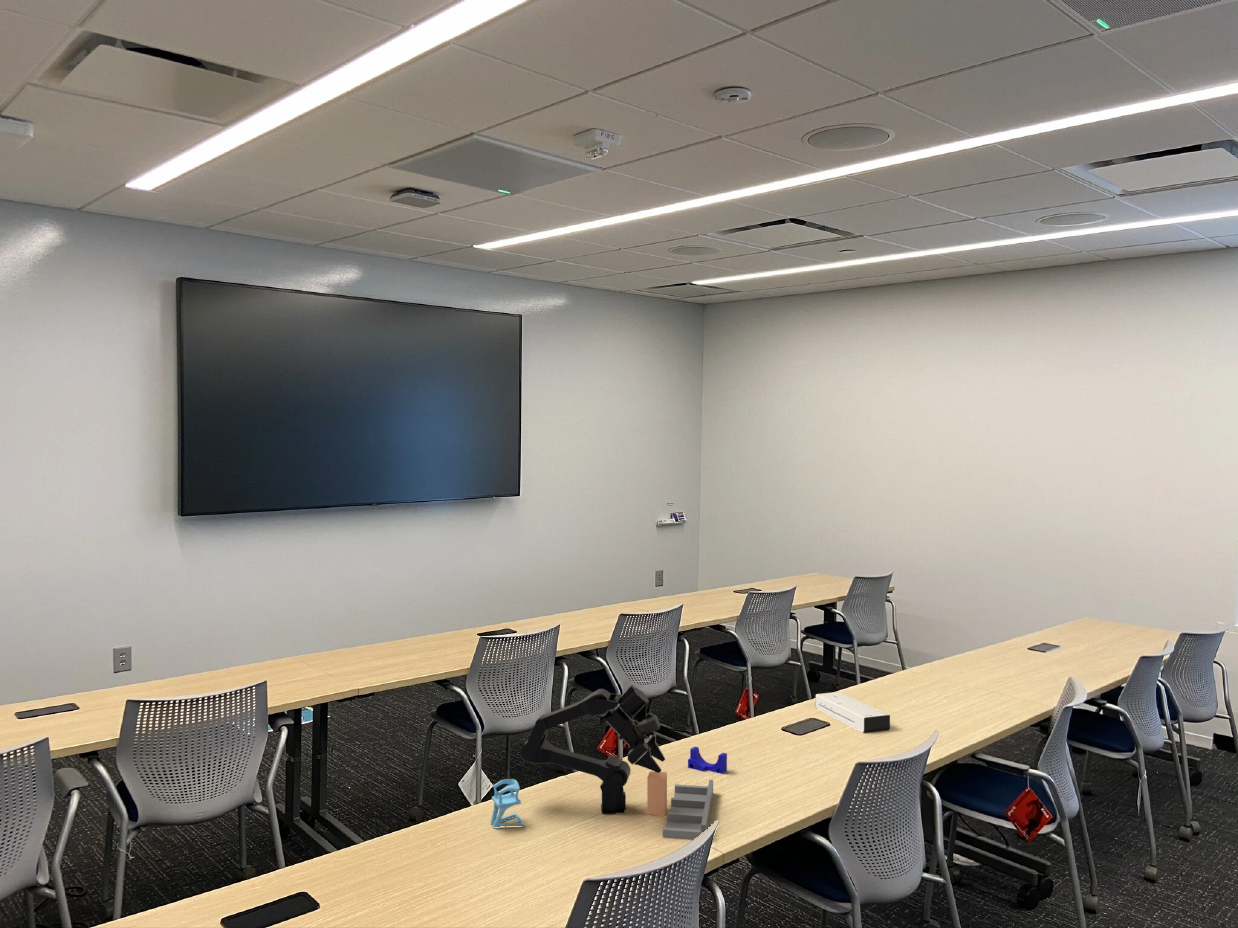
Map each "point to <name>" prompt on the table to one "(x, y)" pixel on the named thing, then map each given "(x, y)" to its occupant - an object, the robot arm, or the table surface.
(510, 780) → the chair
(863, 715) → the laminator
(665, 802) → the terracotta block
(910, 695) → the table surface
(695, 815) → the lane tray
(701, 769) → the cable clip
